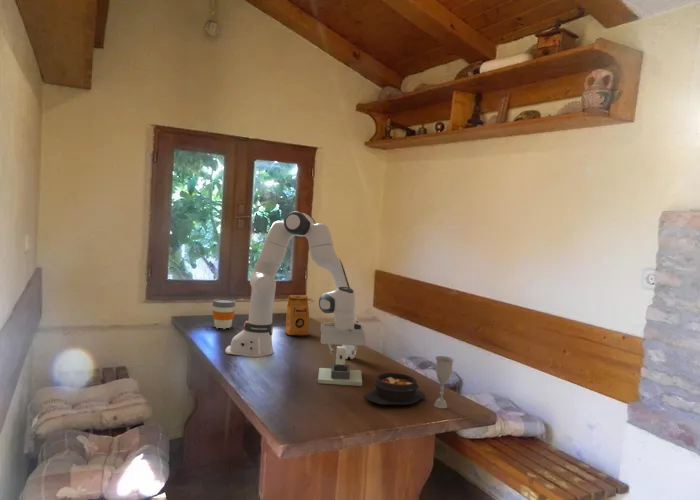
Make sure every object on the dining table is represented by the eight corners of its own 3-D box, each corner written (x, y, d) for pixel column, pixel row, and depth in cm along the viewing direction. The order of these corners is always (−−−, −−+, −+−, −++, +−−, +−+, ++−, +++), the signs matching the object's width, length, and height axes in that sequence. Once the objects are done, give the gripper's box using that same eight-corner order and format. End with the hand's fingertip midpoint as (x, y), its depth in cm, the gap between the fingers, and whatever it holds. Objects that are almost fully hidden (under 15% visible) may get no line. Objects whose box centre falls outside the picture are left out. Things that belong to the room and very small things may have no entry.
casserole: (384, 414, 191) (386, 391, 190) (353, 397, 206) (355, 375, 205) (435, 403, 206) (437, 381, 205) (403, 388, 221) (405, 368, 220)
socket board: (317, 383, 219) (318, 372, 219) (319, 371, 235) (319, 361, 235) (362, 385, 220) (362, 375, 219) (360, 373, 236) (361, 363, 235)
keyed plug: (335, 371, 237) (336, 350, 236) (335, 365, 246) (337, 345, 245) (344, 371, 237) (345, 351, 236) (344, 365, 246) (345, 346, 245)
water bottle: (354, 360, 255) (358, 308, 253) (339, 358, 257) (343, 306, 255) (357, 356, 262) (360, 305, 260) (342, 355, 264) (346, 304, 262)
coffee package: (309, 336, 296) (312, 296, 294) (287, 336, 292) (289, 296, 290) (305, 332, 305) (308, 293, 304) (284, 332, 301) (286, 293, 300)
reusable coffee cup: (209, 324, 307) (210, 298, 306) (231, 324, 312) (232, 298, 311) (213, 330, 295) (215, 302, 294) (236, 329, 301) (238, 302, 300)
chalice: (429, 401, 207) (433, 355, 205) (447, 402, 207) (451, 356, 206) (434, 409, 199) (438, 361, 198) (452, 409, 200) (456, 362, 199)
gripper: (320, 324, 238) (319, 355, 239) (367, 326, 239) (365, 357, 240) (320, 321, 244) (319, 351, 245) (366, 323, 245) (364, 353, 246)
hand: (342, 354), depth 242 cm, fingers open, 8 cm apart
